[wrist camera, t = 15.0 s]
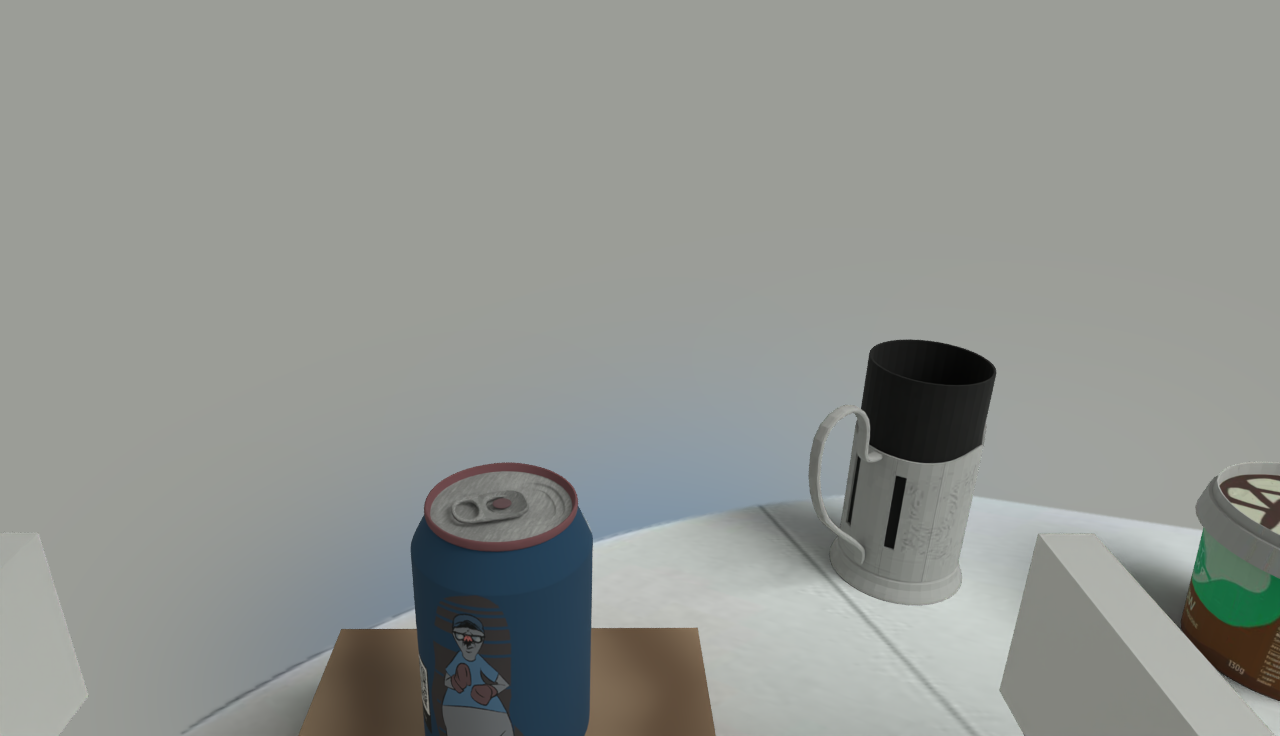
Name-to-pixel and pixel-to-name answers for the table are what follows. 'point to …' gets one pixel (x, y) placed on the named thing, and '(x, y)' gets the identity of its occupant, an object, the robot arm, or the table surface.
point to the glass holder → (909, 470)
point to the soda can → (503, 604)
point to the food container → (1239, 577)
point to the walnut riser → (619, 685)
